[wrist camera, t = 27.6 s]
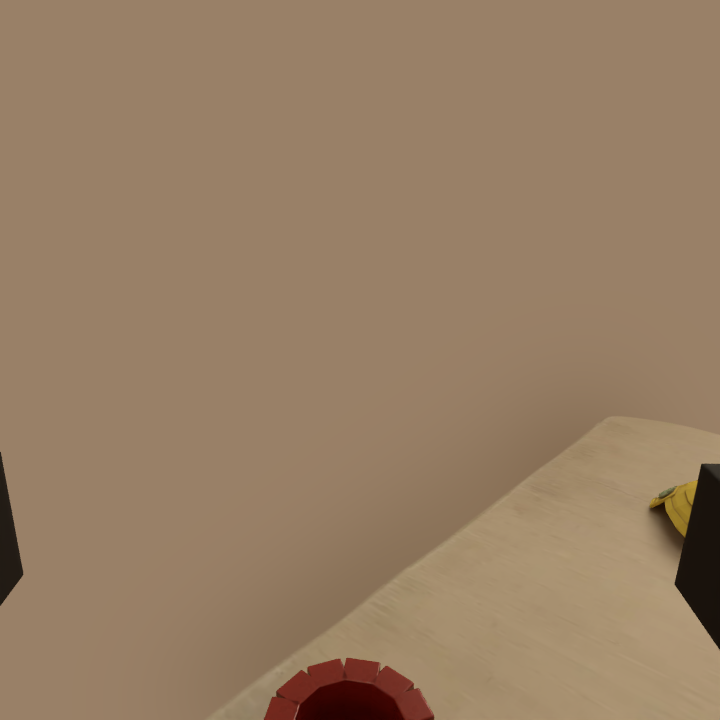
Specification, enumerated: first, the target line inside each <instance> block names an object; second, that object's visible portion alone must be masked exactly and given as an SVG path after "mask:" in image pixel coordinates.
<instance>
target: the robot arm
mask: <svg viewBox="0 0 720 720" xmlns="http://www.w3.org/2000/svg"><path fill="white" fill-rule="evenodd" d="M22 576H23V569H22V564H21V559H20V553H19V548H18V543H17V537H16V532H15V527H14V521H13V516H12V510H11V505H10V500H9V494H8V489H7V484H6V479H5V473H4V468H3V462H2V457H1V452H0V605H1V604H2V603H3V601H4V600H5V599H6V597H7V596H8V595H9V593H10V592H11V591H12V589H13V588H14V587H15V585H16V584H17V583H18V581H19V580H20V579H21V577H22ZM675 586H676V587H677V589H678V590H679V591H680V593H681V594H682V596H683V597H684V599H685V600H686V602H687V603H688V604H689V606H690V607H691V609H692V610H693V612H694V613H695V615H696V616H697V618H698V619H699V620H700V622H701V623H702V625H703V626H704V628H705V629H706V631H707V632H708V633H709V635H710V636H711V638H712V639H713V641H714V642H715V644H716V645H717V646H718V648H719V649H720V464H701V469H700V473H699V478H698V482H697V487H696V491H695V495H694V500H693V504H692V509H691V513H690V518H689V522H688V527H687V531H686V535H685V540H684V544H683V549H682V553H681V558H680V562H679V567H678V571H677V575H676V580H675Z"/></svg>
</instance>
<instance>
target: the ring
mask: <svg viewBox="0 0 720 720" xmlns="http://www.w3.org/2000/svg"><path fill="white" fill-rule="evenodd" d="M307 672H308V674H307V673H305V672H304V671H302V670H301V671H300V672H298V673H297V674H296V675H295V676H294V677H292V678H291V679H290V680H289V681H288V682H287V683H285V684H284V685H283V686H282V687H281V688H279V689H278V690H277V691H276V697H272V699H271V702H270V704H269V707H268V710H267V713H266V715H265V718H264V720H434V715H433V713H432V711H431V709H430V707H429V706H428V704H427V702H426V700H425V698H424V697H423V695H422V693H421V691H420V689H419V688H417V689H414V683H413V682H412V681H410V680H409V679H407V678H405V677H404V676H402V675H401V674H399V673H398V672H396V671H394V670H393V669H391V668H390V667H388V666H385V667H384V668H383V669H382V670H381V671H380V663H379V662H373V661H366V660H359V659H352V658H346V662H345V666H343V664H342V662H341V659H335V660H332V661H328V662H324V663H320V664H317V665H313V666H309V667H308V668H307Z"/></svg>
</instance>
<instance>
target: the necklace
mask: <svg viewBox="0 0 720 720" xmlns="http://www.w3.org/2000/svg"><path fill="white" fill-rule="evenodd" d="M697 482H698V480H696V481H693V482H689V483H687V484H684V485H681V486H675V487H673V488H670V489H668V490H666V491H664V492H662V493H660V494H659V497H657V498H654V499H652V501H651V504H650V508H653V507H655V506H657V505H659V504H661V503H663V502H665V507H666V512H667V514H668V515H669V517H670V519H671V520H672V522H673V524H674V525H675V527H676V529H677V530H678V531H679V532H680V533H681V534H682V535H683V536H684V537H685V535H686V531H687V527H688V522H689V518H690V513H691V509H692V504H693V500H694V495H695V491H696V487H697Z"/></svg>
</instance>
